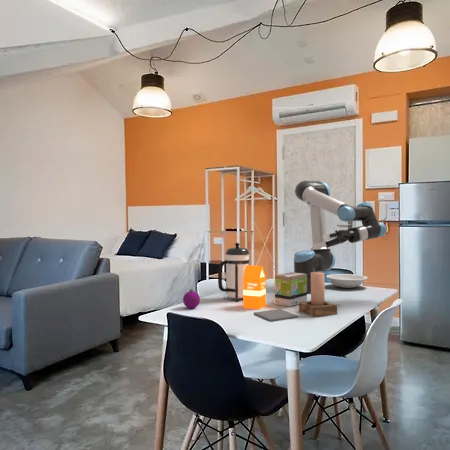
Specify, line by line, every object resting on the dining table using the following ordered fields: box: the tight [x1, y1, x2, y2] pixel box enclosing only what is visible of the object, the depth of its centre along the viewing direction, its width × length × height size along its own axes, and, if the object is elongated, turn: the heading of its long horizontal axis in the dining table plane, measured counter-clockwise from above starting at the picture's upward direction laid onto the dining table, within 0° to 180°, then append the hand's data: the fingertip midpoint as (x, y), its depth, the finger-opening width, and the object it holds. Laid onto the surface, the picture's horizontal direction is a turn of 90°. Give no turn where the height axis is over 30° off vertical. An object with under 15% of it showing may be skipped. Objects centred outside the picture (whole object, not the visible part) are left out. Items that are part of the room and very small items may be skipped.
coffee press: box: [217, 242, 250, 303], centre depth 210 cm, size 17×16×30 cm
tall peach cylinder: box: [310, 271, 326, 306], centre depth 179 cm, size 6×6×18 cm
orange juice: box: [242, 264, 267, 310], centre depth 193 cm, size 8×9×20 cm
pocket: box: [298, 300, 338, 318], centre depth 180 cm, size 12×12×4 cm
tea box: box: [274, 271, 308, 307], centre depth 200 cm, size 15×10×15 cm, turn 137°
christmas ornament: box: [182, 287, 201, 309], centre depth 191 cm, size 8×8×10 cm
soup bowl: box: [326, 273, 368, 289], centre depth 242 cm, size 24×24×7 cm
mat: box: [253, 308, 299, 322], centre depth 174 cm, size 14×14×1 cm
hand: (318, 242), depth 200 cm, fingers open, 13 cm apart
